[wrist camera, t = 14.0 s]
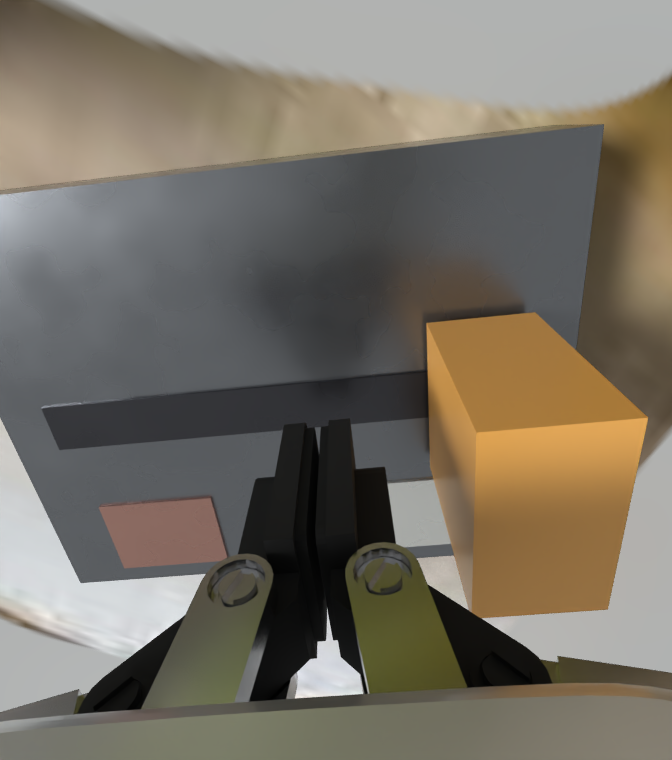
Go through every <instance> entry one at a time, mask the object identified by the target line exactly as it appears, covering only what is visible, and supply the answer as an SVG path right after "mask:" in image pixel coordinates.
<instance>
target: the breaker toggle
mask: <svg viewBox="0 0 672 760" xmlns="http://www.w3.org/2000/svg"><path fill="white" fill-rule="evenodd" d="M426 324H427V364H428V405H429V445H430V468H431V472H432V476H433V479H434V483H435V487H436V490H437V494H438V498H439V501H440V505H441V509H442V512H443V516H444V520H445V523H446V527H447V531H448V535H449V538H450V542H451V546H452V549H453V553H454V557H455V560H456V564H457V568H458V571H459V575H460V579H461V582H462V586H463V590H464V593H465V597H466V601H467V604H468V608H469V611H470V612H472V613H473V614H475V615H476V616H478V617H480V618H490V617H505V616H519V615H534V614H549V613H563V612H578V611H592V610H606V609H608V606H609V601H610V596H611V592H612V587H613V582H614V577H615V573H616V568H617V563H618V559H619V554H620V549H621V544H622V539H623V535H624V530H625V525H626V521H627V516H628V511H629V506H630V502H631V497H632V492H633V487H634V483H635V478H636V473H637V469H638V464H639V459H640V454H641V450H642V445H643V440H644V435H645V431H646V426H647V421H648V417H647V416H646V415H645V414H644V413H643V412H641V411H640V410H639V409H638V408H637V407H636V406H635V405H634V404H633V403H632V402H631V401H630V400H629V399H628V398H626V397H625V396H624V395H623V394H622V393H621V392H620V391H619V390H618V389H617V388H616V387H615V386H614V385H613V384H611V383H610V382H609V381H608V380H607V379H606V378H605V377H604V376H603V375H602V374H601V373H600V372H599V371H598V370H596V369H595V368H594V367H593V366H592V365H591V364H590V363H589V362H588V361H587V360H586V359H585V358H584V357H583V356H581V355H580V354H579V353H578V352H577V351H576V350H575V349H574V348H573V347H572V346H571V345H570V344H569V343H567V342H566V341H565V340H564V339H563V338H562V337H561V336H560V335H559V334H558V333H557V332H556V331H555V330H554V329H552V328H551V327H550V326H549V325H548V324H547V323H546V322H545V321H544V320H543V319H542V318H541V317H540V316H539V315H537V314H536V313H535V312H532V313H522V314H512V315H502V316H492V317H482V318H472V319H461V320H451V321H441V322H431V323H426Z"/></svg>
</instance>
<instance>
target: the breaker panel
mask: <svg viewBox="0 0 672 760" xmlns="http://www.w3.org/2000/svg"><path fill="white" fill-rule="evenodd" d="M603 130H604V124H597V125H552V126H544V127H535V128H527V129H518V130H510V131H501V132H493V133H484V134H476V135H467V136H459V137H450V138H442V139H433V140H425V141H416V142H408V143H399V144H390V145H382V146H373V147H365V148H356V149H348V150H339V151H331V152H322V153H314V154H305V155H297V156H288V157H280V158H271V159H263V160H254V161H246V162H237V163H229V164H220V165H212V166H203V167H195V168H186V169H178V170H169V171H161V172H152V173H144V174H135V175H126V176H118V177H109V178H101V179H92V180H84V181H75V182H67V183H58V184H50V185H41V186H33V187H24V188H16V189H7V190H0V418H1V420H2V422H3V424H4V426H5V428H6V430H7V432H8V434H9V436H10V438H11V440H12V443H13V445H14V447H15V449H16V451H17V453H18V455H19V457H20V459H21V461H22V463H23V465H24V467H25V469H26V471H27V473H28V476H29V478H30V480H31V482H32V484H33V486H34V488H35V490H36V492H37V494H38V496H39V498H40V500H41V502H42V504H43V506H44V508H45V511H46V513H47V515H48V517H49V519H50V521H51V523H52V525H53V527H54V529H55V531H56V533H57V535H58V537H59V539H60V541H61V543H62V546H63V548H64V550H65V552H66V554H67V556H68V558H69V560H70V562H71V564H72V566H73V568H74V570H75V572H76V574H77V576H78V578H79V581H80V583H87V582H101V581H114V580H128V579H141V578H155V577H168V576H182V575H195V574H206V573H207V572H208V571H209V570H210V569H211V568H212V567H213V566H214V565H215V564H217V563H218V562H220V561H222V560H224V559H225V558H228V557H231V556H234V555H237V554H238V551H239V547H240V542H241V538H242V534H243V529H244V525H245V521H246V517H247V512H248V508H249V504H250V499H251V495H252V491H253V487H254V483H255V480H256V479H257V478H264V477H275V471H276V466H277V460H278V455H279V449H280V444H281V438H282V432H283V427H284V425H285V424H295V423H305V422H306V424H307V428H312V427H314V428H315V431H316V437H317V444H318V450H319V449H320V431H321V427H323V426H328V422H329V420H337V419H347V418H350V422H351V430H352V439H353V447H354V456H355V464H356V469H363V468H374V467H385V470H386V477H387V484H388V491H389V498H390V505H391V512H392V519H393V526H394V533H395V540H396V544H398V545H400V546H402V547H405V548H406V549H408V550H409V551H410V552H411V553H412V554H414V556H415V557H416V558H424V557H438V556H451V555H454V553H453V549H452V546H451V542H450V538H449V535H448V531H447V527H446V523H445V520H444V516H443V512H442V509H441V505H440V501H439V498H438V494H437V490H436V487H435V483H434V479H433V476H432V472H431V468H430V445H429V405H428V364H427V324H426V323H431V322H441V321H451V320H461V319H472V318H482V317H492V316H502V315H512V314H522V313H532V312H535V313H536V314H537V315H539V316H540V317H541V318H542V319H543V320H544V321H545V322H546V323H547V324H548V325H549V326H550V327H551V328H552V329H554V330H555V331H556V332H557V333H558V334H559V335H560V336H561V337H562V338H563V339H564V340H565V341H566V342H567V343H569V344H570V345H571V346H572V347H573V348H574V349H575V350H576V346H577V338H578V330H579V322H580V314H581V306H582V298H583V290H584V282H585V274H586V266H587V258H588V250H589V242H590V234H591V226H592V218H593V210H594V202H595V194H596V186H597V178H598V170H599V162H600V154H601V146H602V138H603Z"/></svg>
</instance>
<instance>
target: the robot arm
mask: <svg viewBox="0 0 672 760" xmlns="http://www.w3.org/2000/svg"><path fill="white" fill-rule="evenodd" d="M327 609H328V614H329V620H330V626H331V631H332V637H333V640H338V643H339V649H340V655H341V658H343V659H344V660H345V661H346V662H347V663H348V664H349V665H351V666H352V667H353V668H354V669H355V670H356V671H357V672H358V673H360V680H361V685H362V690H363V694H358V695H343V696H328V697H312V698H297V699H295V694H296V689H297V680H298V676H297V671H298V670H299V669H300V668H302V667H303V666H304V665H305V664H306V663H307V662H308V661H309V660H310V659H313V658H317V641H326V630H327ZM0 760H672V673H669V672H663V671H656V670H649V669H643V668H635V667H629V666H622V665H616V664H609V663H602V662H594V661H589V660H582V659H575V658H568V657H561V656H557V662H553V661H546V660H540V659H539V658H538V657H537V656H536V655H535V654H534V653H532V652H531V651H530V650H529V649H528V648H526V647H525V646H523V645H522V644H520V643H519V642H517V641H516V640H514V639H512V638H511V637H509V636H508V635H506V634H505V633H503V632H502V631H500V630H498V629H497V628H495V627H494V626H492V625H491V624H489V623H487V622H486V621H484V620H483V619H481V618H480V617H478V616H476V615H475V614H473V613H472V612H470V611H469V610H467V609H465V608H464V607H462V606H461V605H459V604H458V603H456V602H454V601H453V600H451V599H450V598H448V597H447V596H445V595H443V594H442V593H440V592H439V591H437V590H436V589H434V588H432V587H431V586H429V585H428V584H427V582H426V580H425V577H424V574H423V572H422V569H421V567H420V564H419V562H418V560H417V559H416V557H415V556H414V554H412V553H411V552H410V551H409V550H408V549H406V548H405V547H402V546H400V545H398V544H396V540H395V533H394V526H393V519H392V512H391V505H390V498H389V491H388V484H387V477H386V470H385V467H374V468H363V469H356V464H355V456H354V447H353V439H352V430H351V422H350V418H347V419H337V420H329V422H328V426H323V427H321V431H320V449H319V450H318V444H317V437H316V431H315V428H314V427H312V428H307V424H306V422H305V423H295V424H285V425H284V427H283V432H282V438H281V444H280V449H279V455H278V460H277V466H276V471H275V477H264V478H257V479H256V480H255V483H254V487H253V491H252V495H251V499H250V504H249V508H248V512H247V517H246V521H245V525H244V529H243V534H242V538H241V542H240V547H239V551H238V554H237V555H234V556H231V557H228V558H225V559H224V560H222V561H220V562H218V563H217V564H215V565H214V566H213V567H212V568H211V569H210V570H209V571H208V572H207V573H206V575H205V576H204V578H203V579H202V581H201V583H200V585H199V587H198V590H197V592H196V594H195V596H194V598H193V600H192V602H191V604H190V606H189V609H188V611H187V613H186V615H185V616H184V617H182V618H181V619H180V620H178V621H177V622H176V623H174V624H173V625H172V626H170V627H169V628H168V629H166V630H165V631H164V632H163V633H161V634H160V635H159V636H157V637H156V638H155V639H153V640H152V641H151V642H149V643H148V644H147V645H145V646H144V647H143V648H142V649H140V650H139V651H138V652H136V653H135V654H134V655H132V656H131V657H130V658H128V659H127V660H126V661H124V662H123V663H122V664H121V665H119V666H118V667H117V668H115V669H114V670H113V671H111V672H110V673H109V674H107V675H106V676H105V677H103V678H102V679H101V680H100V681H99V682H98V683H97V684H96V685H95V686H94V687H93V688H92V689H91V690H90V692H89V693H86V694H83V695H82V693H81V692H80V690H79V689H78V690H74V691H72V692H68V693H64V694H61V695H57V696H54V697H51V698H47V699H44V700H40V701H37V702H34V703H30V704H27V705H23V706H20V707H17V708H13V709H10V710H7V711H3V712H0Z"/></svg>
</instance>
